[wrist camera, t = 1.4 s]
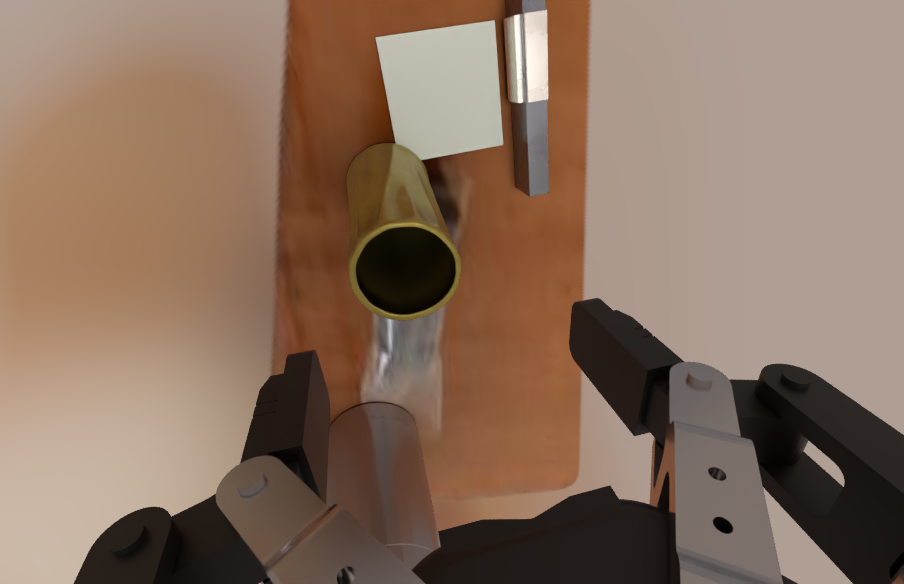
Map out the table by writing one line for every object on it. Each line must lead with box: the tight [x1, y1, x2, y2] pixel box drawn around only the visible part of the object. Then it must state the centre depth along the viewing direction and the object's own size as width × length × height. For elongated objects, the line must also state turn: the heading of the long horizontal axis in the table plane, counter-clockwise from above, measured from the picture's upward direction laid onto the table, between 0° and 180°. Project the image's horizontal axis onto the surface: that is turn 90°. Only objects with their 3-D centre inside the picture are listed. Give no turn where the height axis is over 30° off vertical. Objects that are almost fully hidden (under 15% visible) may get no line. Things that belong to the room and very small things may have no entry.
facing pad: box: [375, 20, 503, 160], centre depth 29 cm, size 8×8×1 cm
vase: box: [346, 143, 461, 321], centre depth 25 cm, size 6×6×14 cm
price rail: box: [504, 0, 549, 197], centre depth 29 cm, size 14×2×3 cm, turn 7°
